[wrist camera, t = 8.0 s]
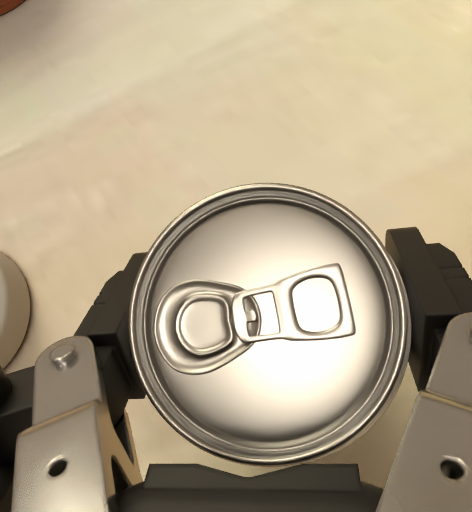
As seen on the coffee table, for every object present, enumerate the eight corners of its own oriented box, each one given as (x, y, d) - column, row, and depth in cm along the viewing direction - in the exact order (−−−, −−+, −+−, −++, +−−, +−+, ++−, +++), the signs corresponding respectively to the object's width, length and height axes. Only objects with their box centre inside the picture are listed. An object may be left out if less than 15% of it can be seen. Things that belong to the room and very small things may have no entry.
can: (217, 279, 21) (96, 200, 9) (345, 253, 20) (384, 130, 8) (238, 412, 19) (123, 511, 8) (377, 391, 18) (480, 470, 7)
